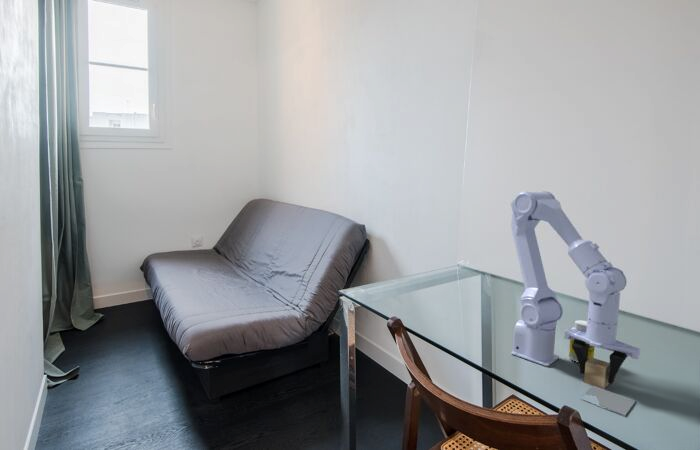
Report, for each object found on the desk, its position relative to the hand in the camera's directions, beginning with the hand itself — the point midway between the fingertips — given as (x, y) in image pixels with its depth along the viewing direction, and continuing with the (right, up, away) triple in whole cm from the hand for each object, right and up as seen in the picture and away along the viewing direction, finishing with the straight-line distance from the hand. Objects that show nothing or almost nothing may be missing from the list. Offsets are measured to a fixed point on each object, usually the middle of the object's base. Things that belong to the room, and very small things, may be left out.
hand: (596, 377), depth 89 cm
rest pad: (-2, -2, -7) cm, 8 cm away
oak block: (0, -2, 0) cm, 2 cm away
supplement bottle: (+3, 0, +12) cm, 12 cm away
